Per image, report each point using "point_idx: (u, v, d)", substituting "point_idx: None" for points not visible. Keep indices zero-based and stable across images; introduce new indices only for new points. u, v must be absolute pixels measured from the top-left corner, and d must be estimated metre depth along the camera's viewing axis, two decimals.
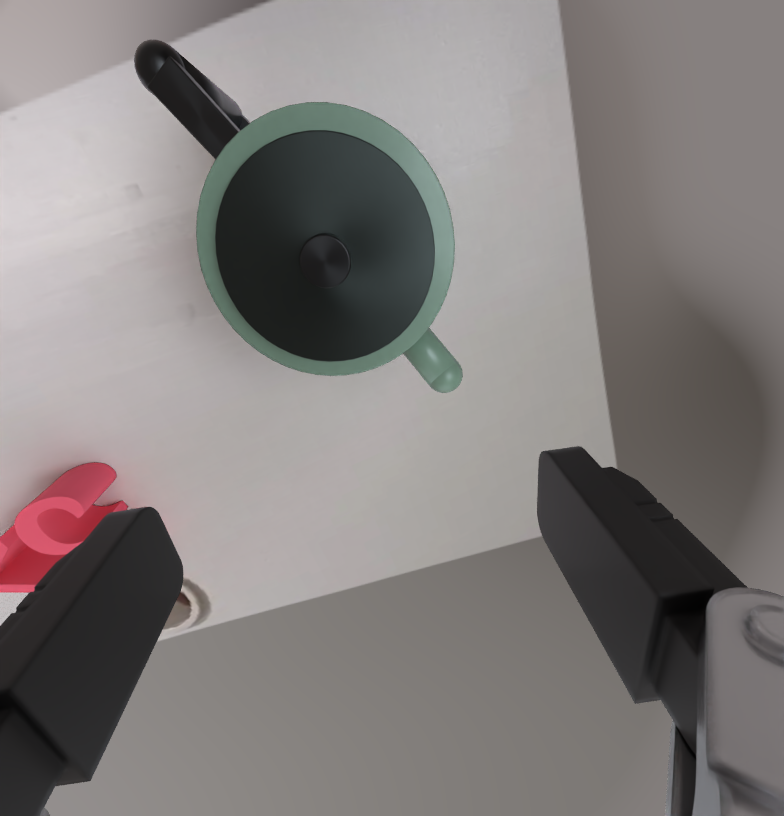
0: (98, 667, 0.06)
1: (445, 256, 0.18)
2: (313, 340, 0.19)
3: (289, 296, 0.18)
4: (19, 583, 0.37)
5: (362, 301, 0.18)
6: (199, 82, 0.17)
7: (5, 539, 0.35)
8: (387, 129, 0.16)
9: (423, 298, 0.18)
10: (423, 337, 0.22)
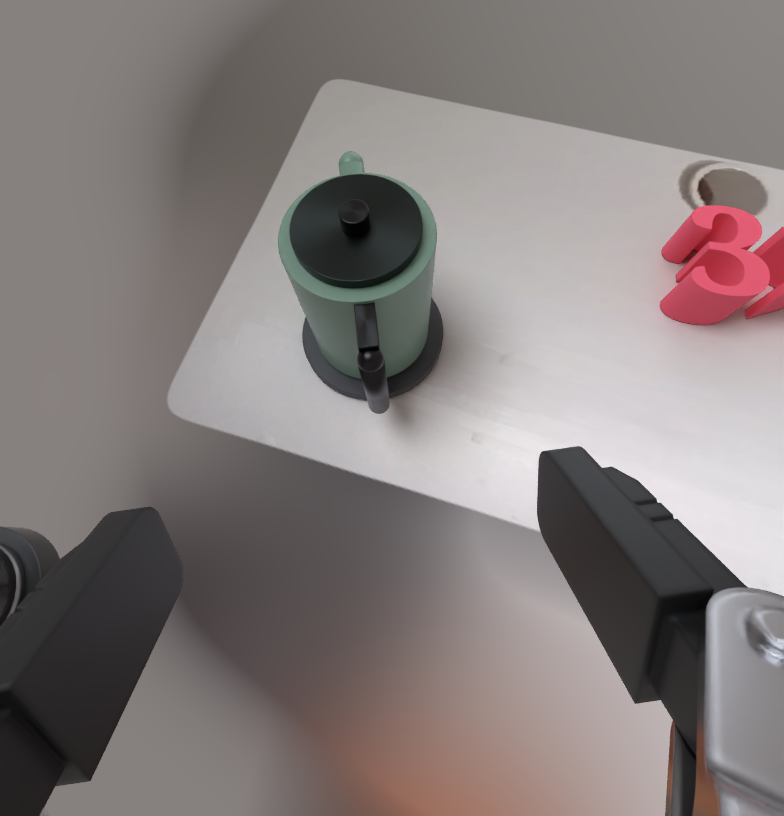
0: (98, 666, 0.06)
1: (301, 200, 0.30)
2: (396, 196, 0.29)
3: (389, 221, 0.28)
4: None
5: (355, 198, 0.29)
6: None
7: None
8: (285, 262, 0.28)
9: (324, 182, 0.29)
10: None
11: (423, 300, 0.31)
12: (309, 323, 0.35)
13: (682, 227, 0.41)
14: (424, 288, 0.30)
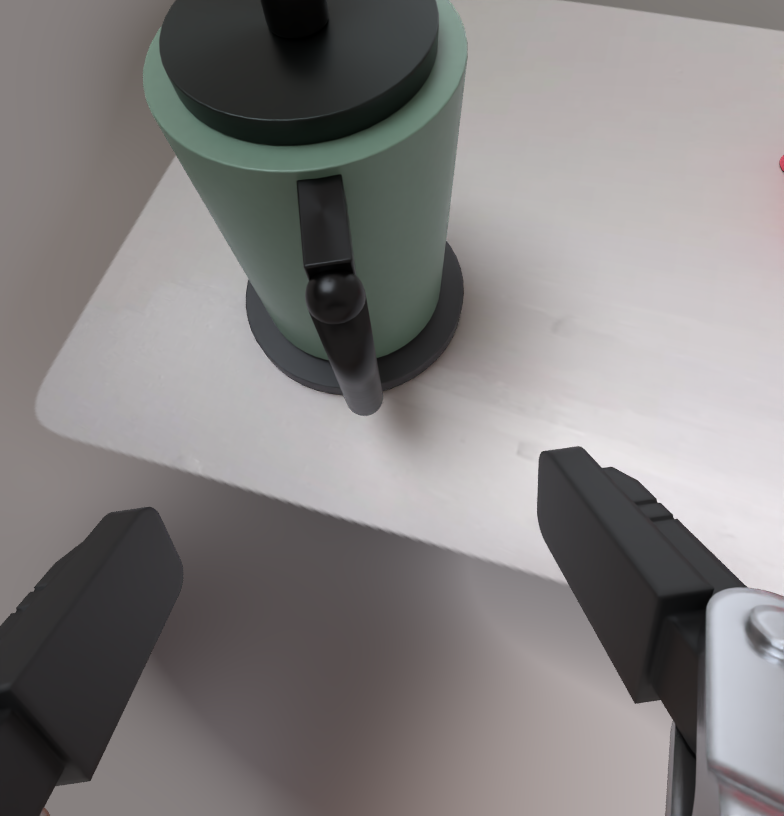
0: (98, 667, 0.06)
1: None
2: None
3: (368, 11, 0.13)
4: None
5: None
6: None
7: None
8: (154, 104, 0.13)
9: None
10: None
11: (440, 200, 0.17)
12: None
13: None
14: (443, 167, 0.15)
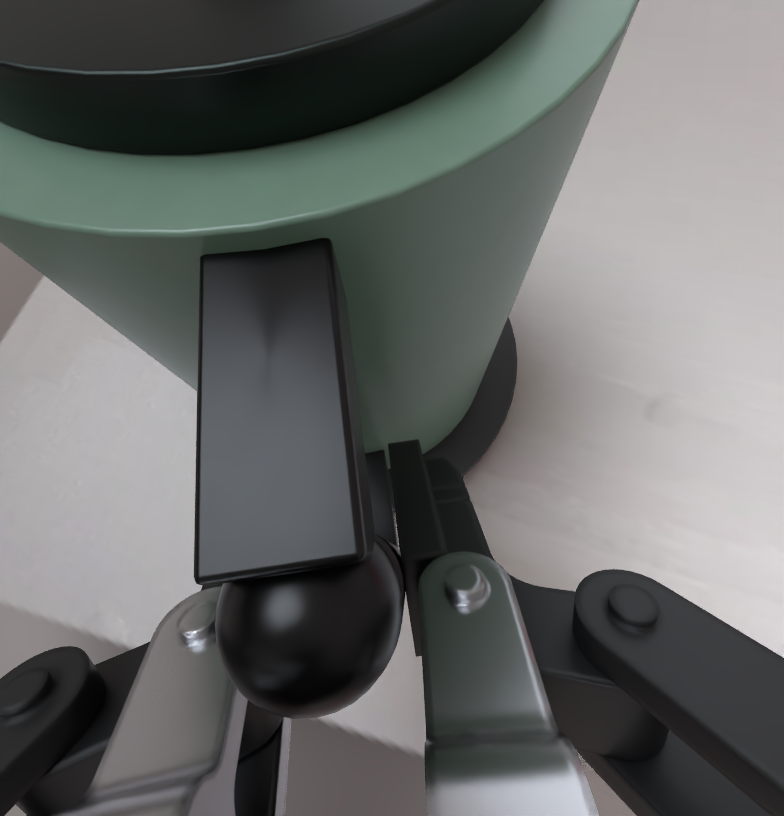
0: None
1: None
2: None
3: None
4: None
5: None
6: None
7: None
8: None
9: None
10: None
11: (531, 257, 0.08)
12: None
13: None
14: (555, 198, 0.07)
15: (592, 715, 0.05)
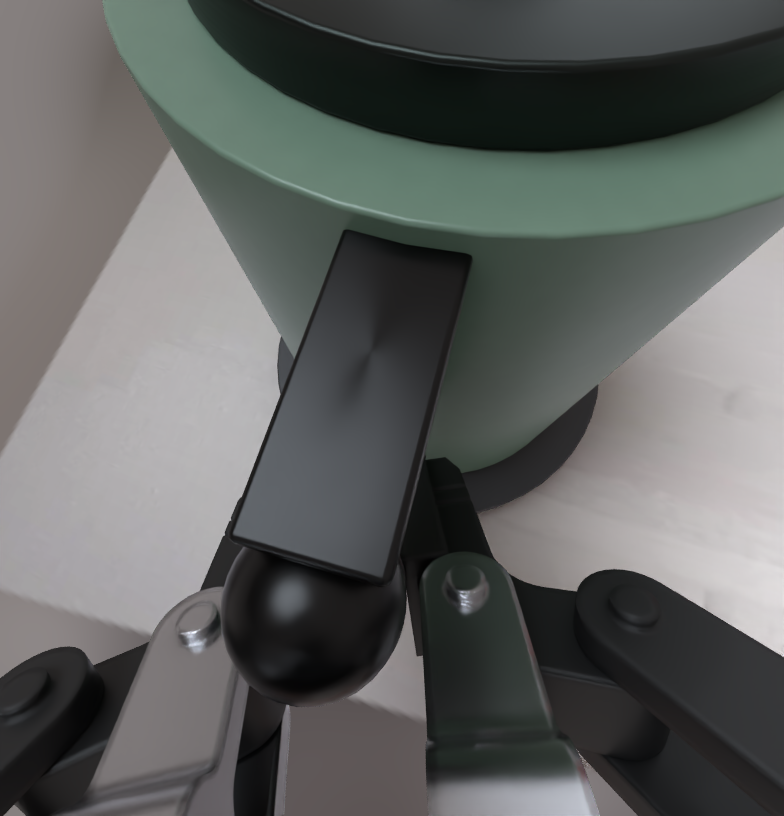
0: None
1: None
2: None
3: None
4: None
5: None
6: None
7: None
8: None
9: None
10: None
11: (656, 333, 0.08)
12: None
13: None
14: (713, 285, 0.06)
15: (593, 715, 0.05)
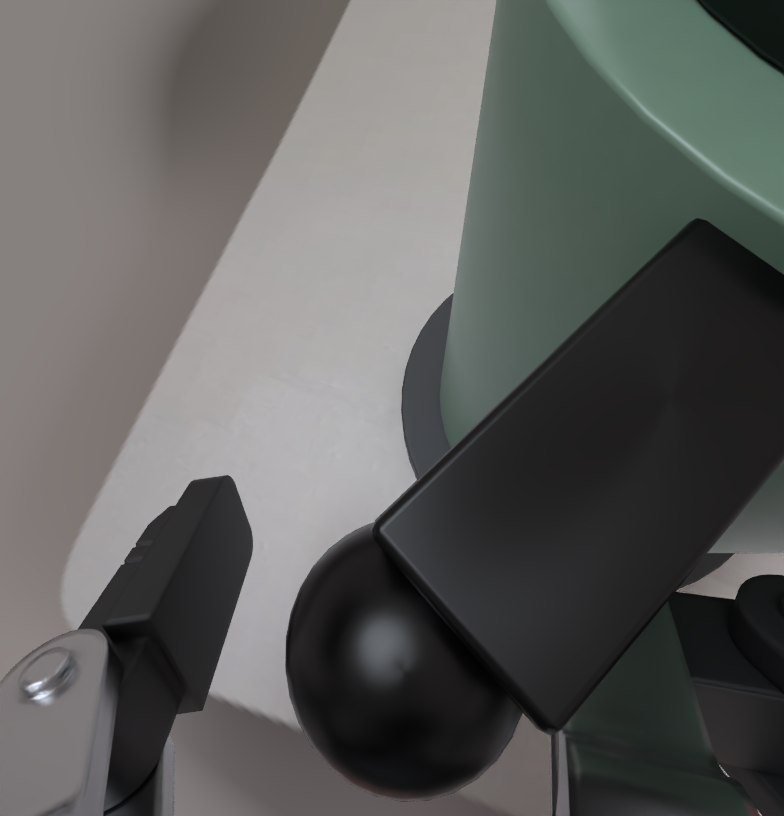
0: (203, 611, 0.07)
1: None
2: None
3: None
4: None
5: None
6: None
7: None
8: None
9: None
10: None
11: None
12: None
13: None
14: None
15: (762, 732, 0.04)
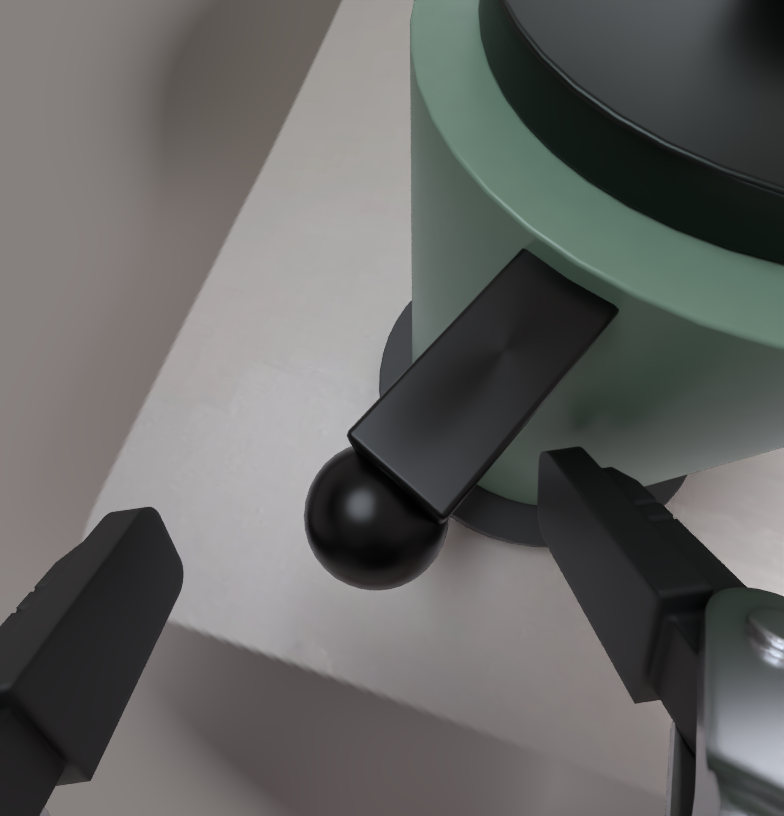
0: (98, 667, 0.06)
1: None
2: None
3: None
4: None
5: None
6: None
7: None
8: None
9: None
10: None
11: (764, 451, 0.08)
12: None
13: None
14: None
15: None
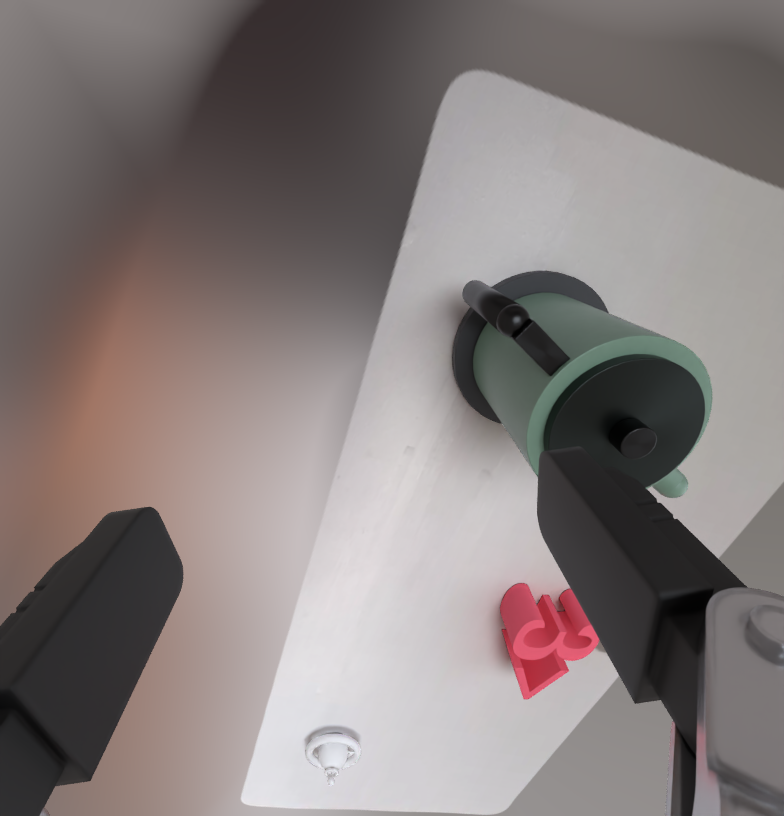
0: (98, 666, 0.06)
1: None
2: None
3: (594, 459, 0.24)
4: (543, 680, 0.51)
5: (645, 456, 0.24)
6: None
7: (516, 664, 0.49)
8: (677, 346, 0.22)
9: (689, 450, 0.24)
10: None
11: (505, 414, 0.28)
12: (602, 311, 0.29)
13: None
14: (512, 424, 0.27)
15: None
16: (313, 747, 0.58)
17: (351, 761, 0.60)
